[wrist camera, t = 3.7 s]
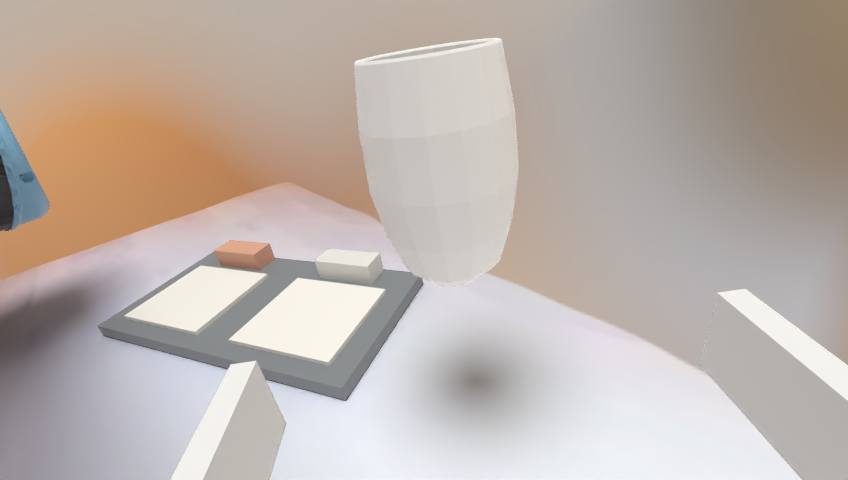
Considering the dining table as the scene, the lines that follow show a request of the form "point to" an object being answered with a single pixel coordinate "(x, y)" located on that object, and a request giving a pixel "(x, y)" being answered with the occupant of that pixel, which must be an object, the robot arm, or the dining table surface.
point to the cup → (441, 154)
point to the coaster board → (275, 314)
